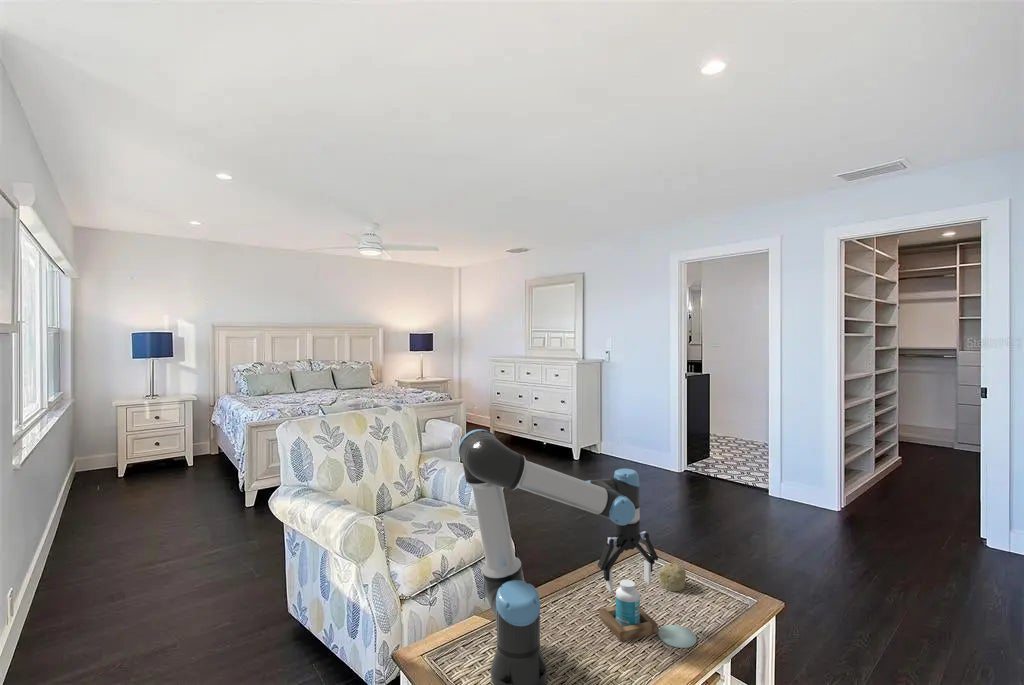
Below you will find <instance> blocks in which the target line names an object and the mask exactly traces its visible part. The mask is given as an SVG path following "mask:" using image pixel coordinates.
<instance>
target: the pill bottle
mask: <svg viewBox="0 0 1024 685" xmlns="http://www.w3.org/2000/svg"><path fill="white" fill-rule="evenodd" d="M640 601H641V594H640V592H639V590H638V589H637V588H636V582H635V581H633V580H631V579H622V580H620V582H619V587H617V588H616V590H615V606H616V618H615V620H616V621H617V622H618V623H619V624H620V625H621V626H622V627H626V626H630V625H635V624H640V608H641V607H640V606H641V602H640Z"/></svg>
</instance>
